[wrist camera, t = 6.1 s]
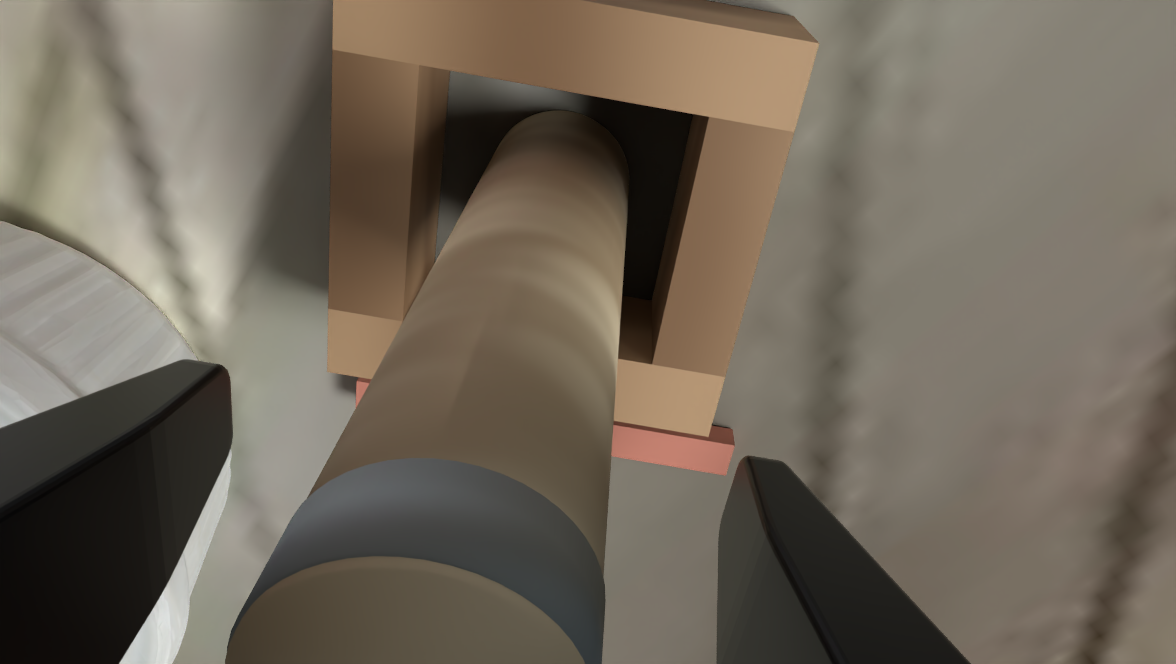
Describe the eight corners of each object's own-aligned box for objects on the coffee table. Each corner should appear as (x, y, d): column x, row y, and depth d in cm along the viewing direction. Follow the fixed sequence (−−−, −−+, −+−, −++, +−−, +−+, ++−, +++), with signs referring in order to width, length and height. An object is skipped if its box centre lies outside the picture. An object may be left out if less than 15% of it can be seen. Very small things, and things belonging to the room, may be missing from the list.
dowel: (643, 122, 16) (630, 602, 5) (617, 256, 17) (567, 845, 7) (498, 96, 15) (211, 532, 5) (483, 232, 17) (228, 791, 7)
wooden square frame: (851, 27, 14) (887, 55, 12) (723, 458, 19) (732, 536, 17) (382, -58, 14) (333, -45, 12) (363, 397, 19) (326, 467, 17)
